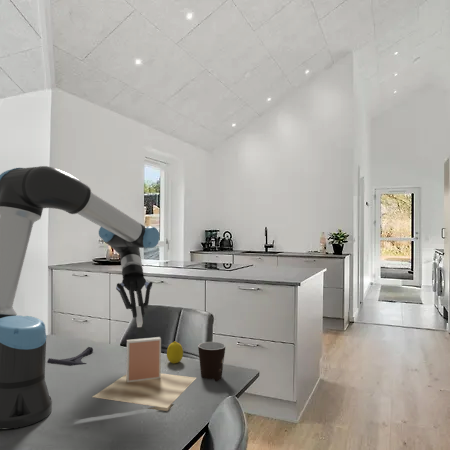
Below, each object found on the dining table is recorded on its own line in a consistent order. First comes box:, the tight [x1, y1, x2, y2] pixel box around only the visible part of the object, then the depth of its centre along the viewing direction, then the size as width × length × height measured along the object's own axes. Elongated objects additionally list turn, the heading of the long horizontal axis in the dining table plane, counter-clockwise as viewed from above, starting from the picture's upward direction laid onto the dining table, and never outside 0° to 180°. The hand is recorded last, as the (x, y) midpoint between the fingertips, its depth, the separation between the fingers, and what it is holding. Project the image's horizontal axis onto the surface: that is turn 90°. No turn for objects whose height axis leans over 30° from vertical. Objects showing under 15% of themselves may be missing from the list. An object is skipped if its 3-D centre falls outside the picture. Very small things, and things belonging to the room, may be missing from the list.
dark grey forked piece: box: [47, 346, 94, 366], centre depth 143 cm, size 14×15×3 cm
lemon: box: [166, 340, 184, 364], centre depth 137 cm, size 6×6×8 cm
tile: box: [125, 336, 162, 382], centre depth 122 cm, size 2×10×12 cm, turn 112°
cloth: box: [92, 372, 197, 412], centre depth 116 cm, size 22×22×1 cm
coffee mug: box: [197, 341, 226, 382], centre depth 127 cm, size 12×9×10 cm
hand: (140, 324), depth 133 cm, fingers closed
